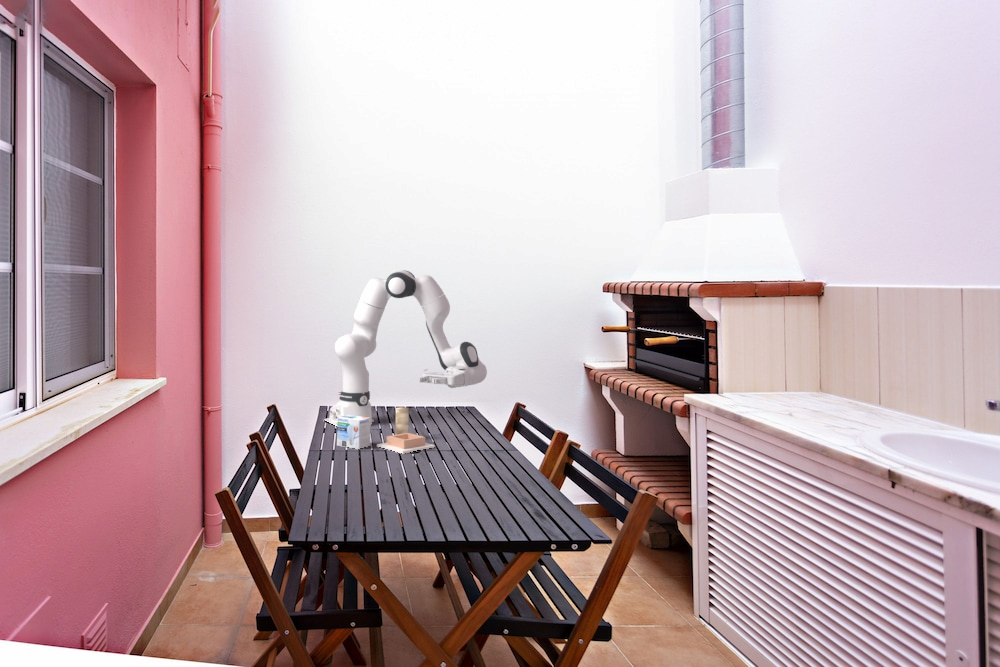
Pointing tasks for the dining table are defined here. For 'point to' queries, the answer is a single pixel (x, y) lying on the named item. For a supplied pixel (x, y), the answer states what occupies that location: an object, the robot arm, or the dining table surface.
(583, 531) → the dining table surface
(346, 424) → the light bulb box
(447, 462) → the dining table surface
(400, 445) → the collar base
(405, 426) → the ash peg
